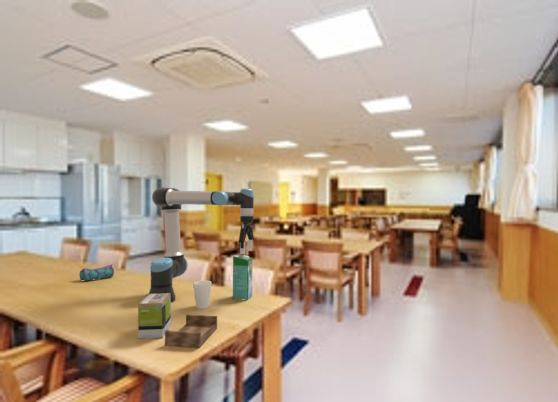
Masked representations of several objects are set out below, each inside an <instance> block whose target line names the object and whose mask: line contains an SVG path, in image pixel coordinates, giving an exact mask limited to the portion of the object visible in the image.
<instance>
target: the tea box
mask: <svg viewBox="0 0 558 402" xmlns="http://www.w3.org/2000/svg"><path fill="white" fill-rule="evenodd" d="M171 305H172V302H171V295H170V293H162V294H149V293H148V294H147V295H146V296H145V297H144V298H143V299H142V300H141V301H139V302H138V304H137V319H138V320H137V321H138V322H137V327H138V329H137V330H138V331H137V332H138V333H137V335H138V338H137V339H160V338H162V339H163V338H164V337H165V331H166V330H169V328H170V327H171V325H172V311H171V309H172V306H171Z"/></svg>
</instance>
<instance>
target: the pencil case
mask: <svg viewBox="0 0 558 402" xmlns="http://www.w3.org/2000/svg"><path fill="white" fill-rule="evenodd" d="M114 274H115V270H114V267H113V264H108V265H106V266H103V267H98V268H86V267H84V268H82V269H81V270H80V271H79V273H78V275H79V279H80V281H81V280H84V281H85V282H87V281H86V280H93V279H99V278H105V277H109V278H111V277H110V276H112V277H113V276H114ZM105 279H106V278H105ZM93 281H94V280H93Z"/></svg>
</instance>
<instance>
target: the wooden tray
mask: <svg viewBox="0 0 558 402" xmlns="http://www.w3.org/2000/svg"><path fill="white" fill-rule="evenodd" d="M217 329H218V316H217V315H210V314H209V315H208V314H207V315H206V314H190V313H188V314H186V315H185V324H184V325H183V326H182V327H180V328H179V330H169V329H168V330H166V331H165V334H164V346H166V347H177V348H178V347H180V348H189V349H190V348H194V349H200V348H201V347H202V346H203V345H204V344H205V343H206V342H207V340H208V339H209V338H210V337H211V336H212V335H213V333H214V332H215V331H216V330H217Z"/></svg>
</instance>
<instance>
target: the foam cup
mask: <svg viewBox="0 0 558 402" xmlns="http://www.w3.org/2000/svg"><path fill="white" fill-rule="evenodd" d="M192 284H193V292H194V300H195V301H194V302H195V307H196V309H204V310H205V309H207V308H209V303H210V296H211V291H212V281H210V280H204V279H203V280H197V281H194V282H193V283H192Z"/></svg>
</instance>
